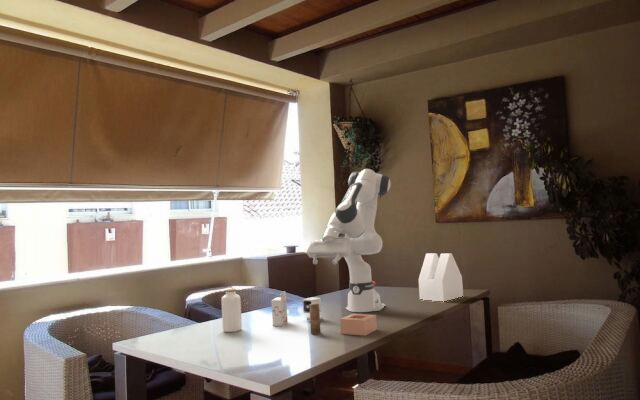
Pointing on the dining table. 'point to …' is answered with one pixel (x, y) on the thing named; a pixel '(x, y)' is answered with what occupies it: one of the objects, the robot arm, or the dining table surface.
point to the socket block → (358, 324)
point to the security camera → (309, 301)
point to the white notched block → (440, 278)
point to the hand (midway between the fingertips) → (324, 263)
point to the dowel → (314, 318)
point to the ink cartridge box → (279, 310)
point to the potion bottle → (231, 311)
